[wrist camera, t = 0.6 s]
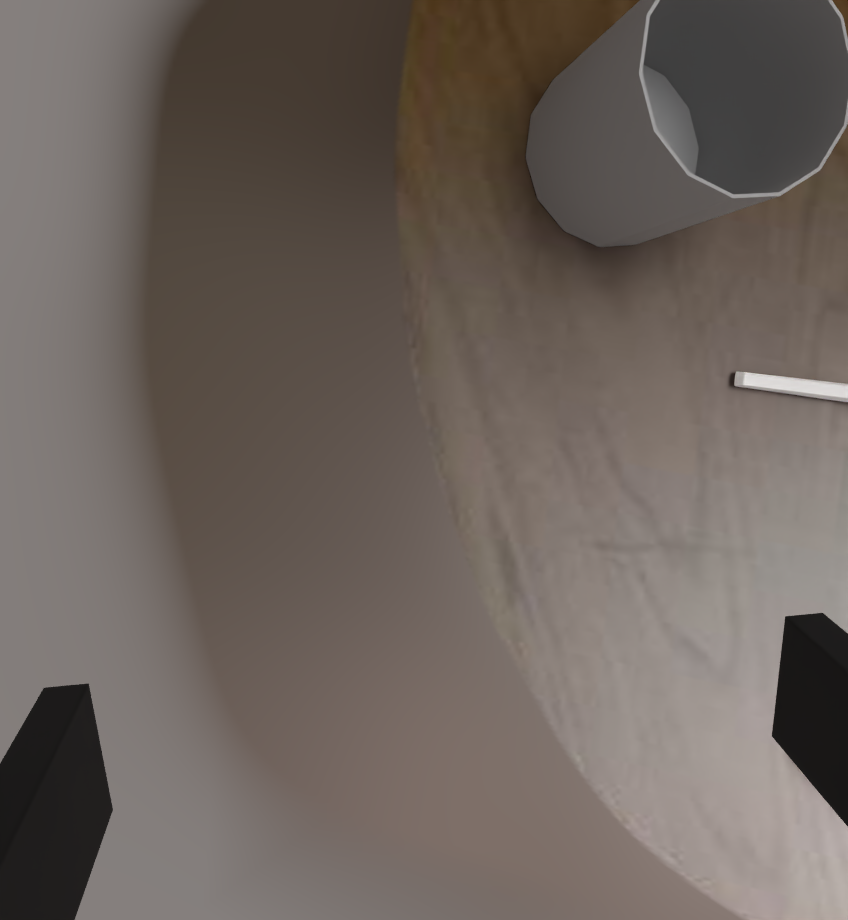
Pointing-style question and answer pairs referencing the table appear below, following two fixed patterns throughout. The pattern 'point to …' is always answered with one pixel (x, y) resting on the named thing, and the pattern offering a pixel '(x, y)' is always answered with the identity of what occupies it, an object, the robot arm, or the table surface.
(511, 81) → the table surface
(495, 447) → the table surface
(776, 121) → the cup
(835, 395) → the fork
